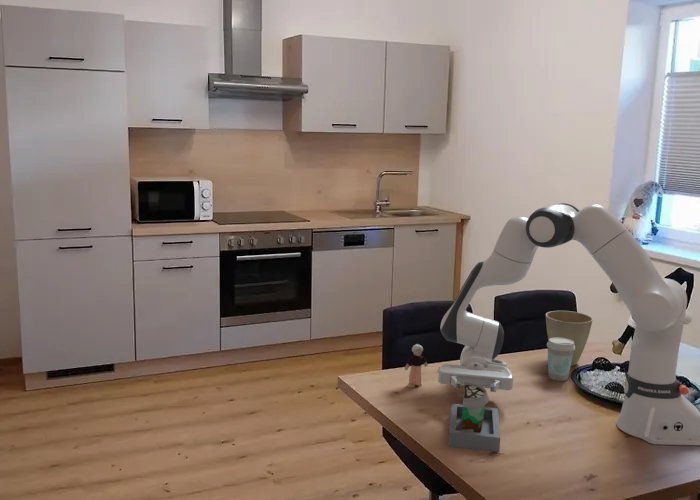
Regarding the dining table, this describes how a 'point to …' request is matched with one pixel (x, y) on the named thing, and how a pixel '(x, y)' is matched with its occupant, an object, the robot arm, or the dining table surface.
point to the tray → (482, 440)
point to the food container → (473, 407)
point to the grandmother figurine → (415, 366)
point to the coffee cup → (560, 358)
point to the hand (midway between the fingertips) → (475, 387)
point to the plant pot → (570, 329)
